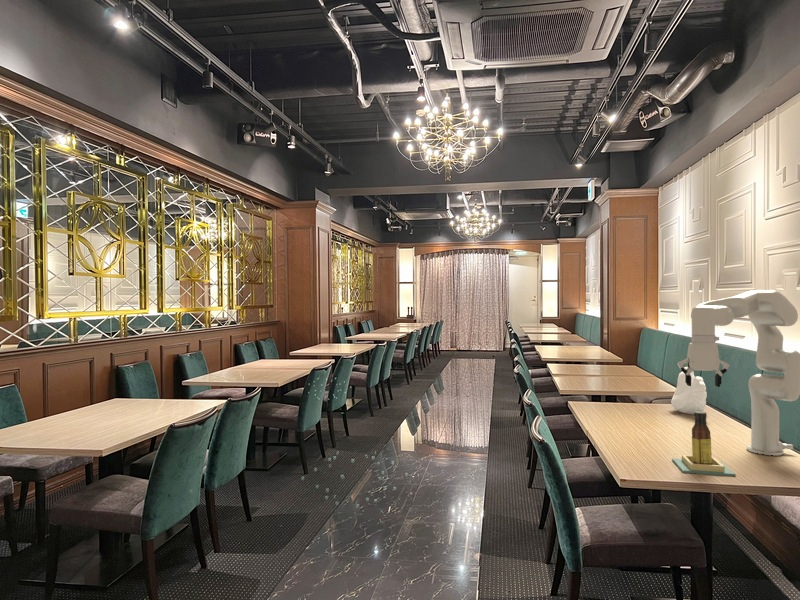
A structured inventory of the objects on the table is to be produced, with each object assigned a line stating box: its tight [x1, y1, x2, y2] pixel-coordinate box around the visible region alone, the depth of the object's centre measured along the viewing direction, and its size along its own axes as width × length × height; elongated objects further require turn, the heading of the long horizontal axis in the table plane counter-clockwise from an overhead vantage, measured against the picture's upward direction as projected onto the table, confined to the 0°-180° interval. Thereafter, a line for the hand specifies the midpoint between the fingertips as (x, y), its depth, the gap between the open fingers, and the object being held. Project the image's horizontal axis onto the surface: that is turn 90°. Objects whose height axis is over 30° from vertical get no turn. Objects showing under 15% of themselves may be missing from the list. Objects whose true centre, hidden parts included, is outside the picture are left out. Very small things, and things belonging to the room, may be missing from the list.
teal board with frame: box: [671, 454, 737, 477], centre depth 201 cm, size 17×15×3 cm
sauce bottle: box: [691, 411, 713, 465], centre depth 201 cm, size 6×6×20 cm
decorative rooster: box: [670, 366, 708, 415], centre depth 294 cm, size 25×16×25 cm, turn 166°
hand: (703, 385), depth 202 cm, fingers open, 9 cm apart
